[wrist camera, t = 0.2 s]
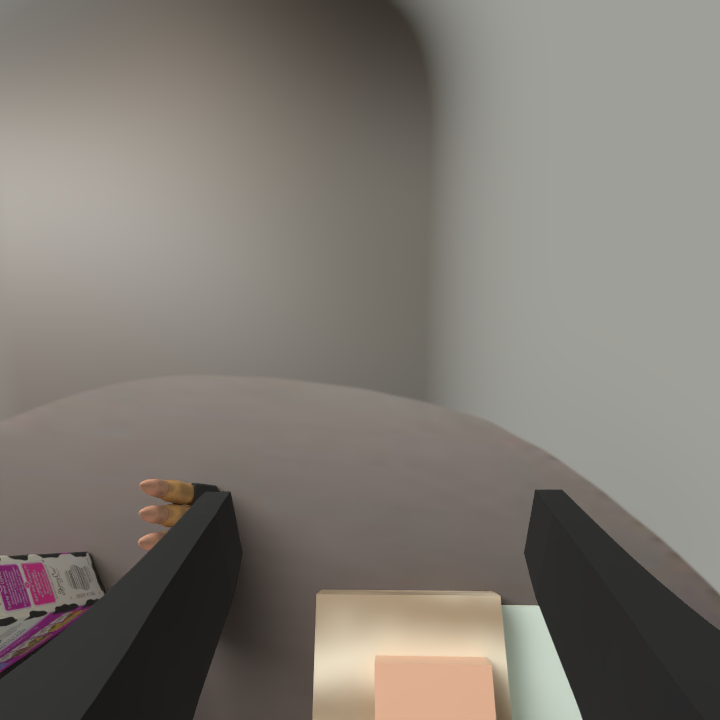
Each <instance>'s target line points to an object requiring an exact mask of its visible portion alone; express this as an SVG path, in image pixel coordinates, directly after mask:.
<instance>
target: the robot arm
mask: <svg viewBox="0 0 720 720" xmlns="http://www.w3.org/2000/svg"><path fill="white" fill-rule="evenodd" d="M524 554H525V558H526V562H527V566H528V570H529V574H530V578H531V582H532V586H533V589H534V593H535V596H536V599H537V602H538V605H539V607H540V610H541V613H542V615H543V618H544V620H545V623H546V626H547V628H548V631H549V633H550V636H551V639H552V641H553V644H554V646H555V649H556V651H557V654H558V656H559V659H560V662H561V664H562V667H563V669H564V672H565V674H566V677H567V680H568V682H569V685H570V687H571V690H572V692H573V695H574V697H575V700H576V703H577V705H578V708H579V711H580V714H581V717H582V720H720V630H718V629H717V628H716V627H714V626H713V625H712V624H710V623H709V622H708V621H707V620H705V619H704V618H703V617H702V616H700V615H699V614H698V613H696V612H695V611H694V610H693V609H691V608H690V607H689V606H688V605H687V604H685V603H684V602H683V601H682V600H681V599H679V598H678V597H677V596H676V595H675V594H674V593H672V592H671V591H670V590H669V589H668V588H666V587H665V586H664V585H663V584H662V583H660V582H659V581H658V580H657V579H656V578H655V577H654V576H652V575H651V574H650V573H649V572H648V571H647V570H646V569H645V568H643V567H642V566H641V565H640V564H639V563H638V562H637V561H636V560H635V559H633V558H632V557H631V556H630V555H629V554H628V553H627V552H626V551H625V550H624V549H623V548H622V547H620V546H619V545H618V544H617V543H616V542H615V541H614V540H613V539H612V538H611V537H610V536H609V535H608V534H607V533H606V532H605V531H604V530H603V529H602V528H601V527H600V526H599V525H598V524H596V523H595V522H594V521H593V520H592V519H591V518H590V517H589V516H588V515H587V514H586V513H585V512H584V511H583V510H582V509H581V508H580V507H579V506H578V505H577V504H576V503H575V502H574V501H573V500H572V499H571V498H570V497H569V496H568V495H567V494H566V493H565V492H564V491H563V490H535V494H534V500H533V506H532V511H531V517H530V523H529V528H528V534H527V540H526V545H525V551H524ZM241 558H242V548H241V543H240V538H239V533H238V528H237V523H236V517H235V512H234V507H233V502H232V497H231V492H205V493H204V494H203V495H202V496H201V497H200V498H199V499H198V500H197V501H196V502H195V503H194V504H193V505H192V506H191V507H190V508H189V509H188V510H187V512H186V513H185V514H184V515H183V516H182V517H181V518H180V519H179V520H178V521H177V522H176V523H175V524H174V526H173V527H172V528H171V529H170V530H169V531H168V532H167V533H166V534H165V535H164V536H163V537H162V538H161V539H160V540H159V541H158V542H157V543H156V544H155V545H154V547H153V548H152V549H151V550H150V551H149V552H148V553H147V554H146V555H145V556H144V557H143V558H142V559H141V560H140V561H139V562H138V563H137V564H136V565H135V566H134V567H133V568H132V569H131V570H130V571H129V572H128V573H127V574H126V575H125V576H124V577H122V578H121V579H120V580H119V581H118V582H117V583H116V584H115V585H114V586H113V587H112V588H111V589H110V590H109V591H108V592H107V593H106V594H105V595H103V596H102V597H101V598H100V599H99V600H98V601H97V602H96V603H95V604H94V605H93V606H91V607H90V608H89V609H88V610H87V611H86V612H85V613H84V614H82V615H81V616H80V617H79V618H78V619H77V620H75V621H74V622H73V623H72V624H71V625H69V626H68V627H67V628H66V629H65V630H63V631H62V632H61V633H60V634H59V635H57V636H56V637H55V638H54V639H53V640H51V641H50V642H49V643H48V644H46V645H45V646H44V647H43V648H41V649H40V650H39V651H37V652H36V653H35V654H33V655H32V656H31V657H29V658H28V659H27V660H25V661H24V662H23V663H21V664H20V665H19V666H17V667H16V668H15V669H13V670H12V671H11V672H9V673H8V674H7V675H5V676H4V677H3V678H1V679H0V720H193V717H194V713H195V710H196V707H197V703H198V700H199V697H200V694H201V691H202V688H203V685H204V682H205V679H206V676H207V673H208V670H209V667H210V665H211V662H212V659H213V656H214V653H215V650H216V647H217V644H218V641H219V638H220V635H221V632H222V629H223V626H224V623H225V620H226V617H227V614H228V611H229V608H230V605H231V602H232V599H233V595H234V591H235V587H236V582H237V578H238V573H239V568H240V563H241Z"/></svg>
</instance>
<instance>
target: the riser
mask: <svg viewBox="0 0 720 720" xmlns="http://www.w3.org/2000/svg"><path fill="white" fill-rule="evenodd" d="M375 655H396V656H457V657H486V659H487V660H488V661H489V662H490V664H491V665H492V675H493V687H494V699H495V711H496V720H512V714H511V703H510V693H509V682H508V671H507V661H506V650H505V639H504V629H503V618H502V608H501V597H500V595H498V594H496V593H494V592H493V591H415V590H321V591H320V592H318V593H317V595H316V627H315V658H314V689H313V720H375Z"/></svg>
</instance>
